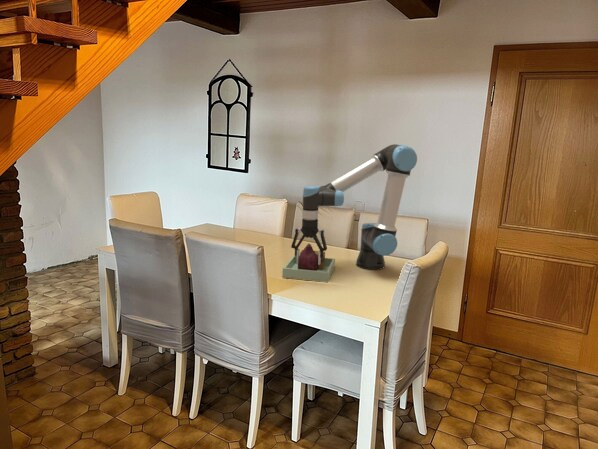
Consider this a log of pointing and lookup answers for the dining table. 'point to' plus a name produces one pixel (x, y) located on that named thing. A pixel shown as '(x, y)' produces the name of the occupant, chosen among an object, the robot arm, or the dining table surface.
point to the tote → (308, 271)
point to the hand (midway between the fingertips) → (308, 263)
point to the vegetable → (308, 259)
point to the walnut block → (321, 260)
